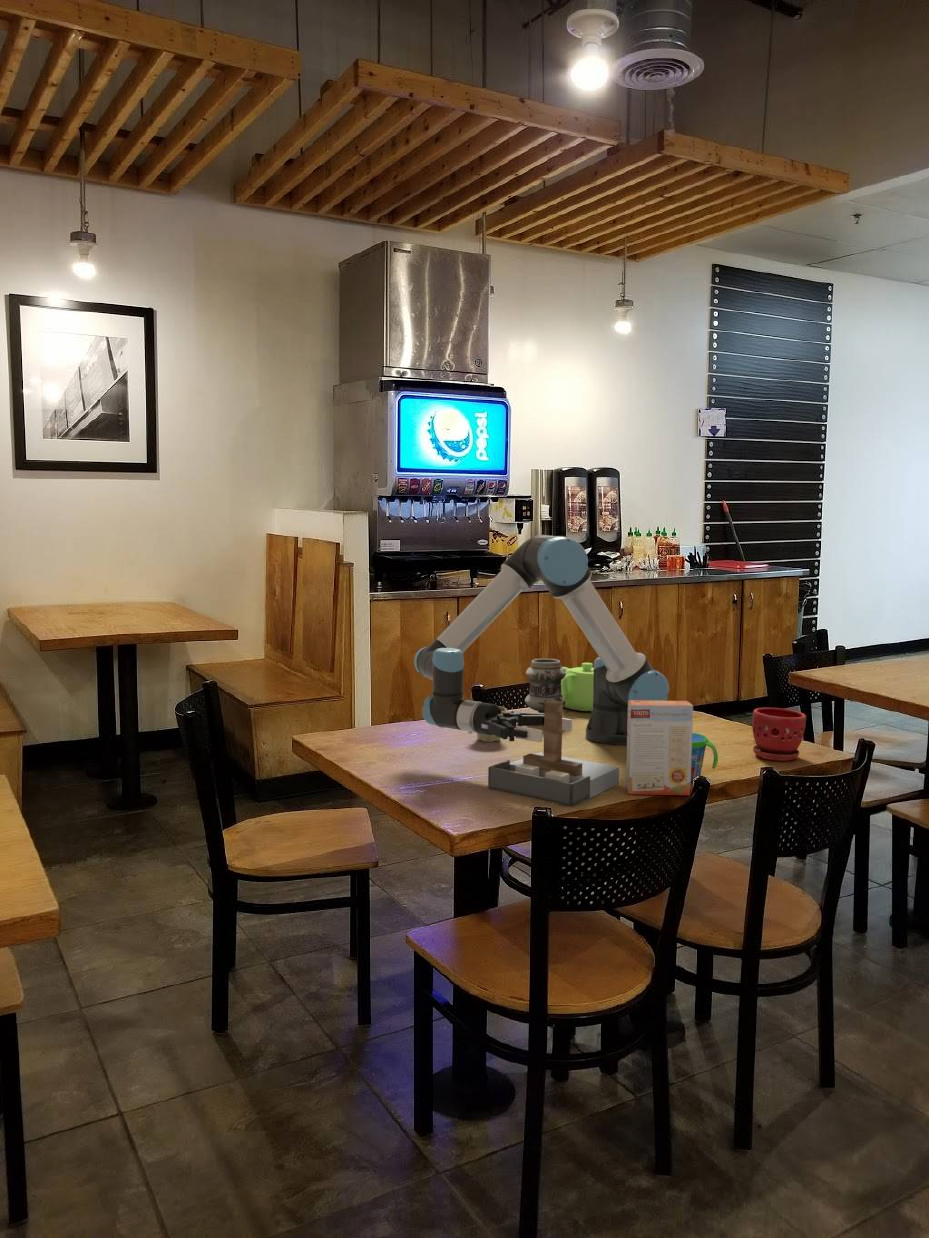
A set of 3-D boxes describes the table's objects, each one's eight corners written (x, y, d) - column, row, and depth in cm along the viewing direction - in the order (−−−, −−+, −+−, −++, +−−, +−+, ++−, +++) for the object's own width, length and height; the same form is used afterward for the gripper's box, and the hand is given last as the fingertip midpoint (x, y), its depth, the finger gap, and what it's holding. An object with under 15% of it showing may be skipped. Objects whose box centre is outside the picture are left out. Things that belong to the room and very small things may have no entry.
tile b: (552, 770, 227) (545, 773, 224) (569, 773, 224) (562, 776, 222) (551, 789, 227) (544, 792, 225) (569, 793, 225) (562, 796, 222)
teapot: (556, 713, 310) (557, 667, 308) (558, 700, 330) (559, 656, 328) (617, 715, 308) (619, 669, 306) (615, 702, 328) (617, 658, 326)
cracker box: (685, 788, 231) (689, 699, 229) (690, 796, 225) (694, 705, 223) (624, 787, 232) (627, 698, 229) (628, 795, 226) (631, 704, 223)
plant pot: (789, 766, 252) (791, 719, 250) (741, 756, 261) (743, 711, 259) (812, 757, 261) (815, 711, 260) (765, 747, 270) (767, 704, 269)
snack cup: (643, 777, 240) (645, 735, 239) (662, 768, 249) (664, 727, 248) (705, 789, 231) (707, 746, 230) (723, 779, 240) (725, 737, 239)
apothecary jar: (547, 713, 309) (549, 655, 307) (573, 720, 299) (575, 661, 297) (516, 717, 303) (517, 659, 300) (541, 725, 293) (543, 664, 290)
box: (507, 780, 236) (507, 759, 236) (589, 797, 223) (590, 776, 223) (488, 788, 230) (488, 767, 229) (571, 806, 217) (572, 784, 216)
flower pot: (511, 742, 273) (512, 711, 272) (479, 745, 269) (480, 713, 268) (497, 734, 282) (498, 704, 281) (466, 737, 278) (467, 706, 277)
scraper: (529, 763, 236) (531, 696, 234) (582, 774, 228) (583, 704, 226) (523, 766, 234) (524, 698, 232) (575, 776, 226) (577, 707, 224)
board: (538, 767, 248) (539, 752, 247) (618, 783, 235) (619, 767, 234) (507, 780, 236) (507, 763, 236) (589, 797, 223) (590, 780, 223)
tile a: (522, 763, 232) (515, 766, 230) (539, 766, 230) (532, 769, 227) (522, 782, 233) (515, 785, 230) (538, 785, 230) (531, 788, 228)
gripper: (508, 723, 252) (582, 736, 240) (449, 743, 232) (527, 757, 220) (508, 694, 251) (583, 705, 239) (449, 711, 231) (528, 724, 219)
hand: (556, 730), depth 229 cm, fingers open, 13 cm apart
